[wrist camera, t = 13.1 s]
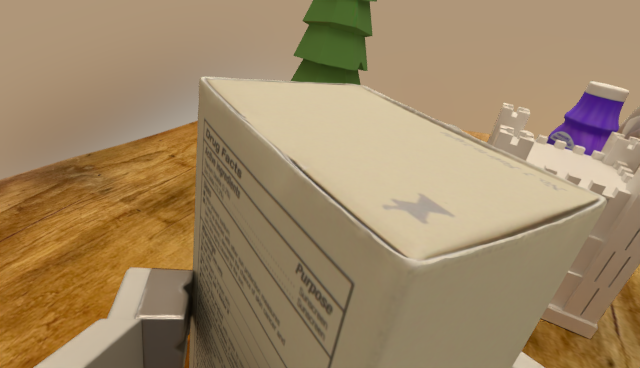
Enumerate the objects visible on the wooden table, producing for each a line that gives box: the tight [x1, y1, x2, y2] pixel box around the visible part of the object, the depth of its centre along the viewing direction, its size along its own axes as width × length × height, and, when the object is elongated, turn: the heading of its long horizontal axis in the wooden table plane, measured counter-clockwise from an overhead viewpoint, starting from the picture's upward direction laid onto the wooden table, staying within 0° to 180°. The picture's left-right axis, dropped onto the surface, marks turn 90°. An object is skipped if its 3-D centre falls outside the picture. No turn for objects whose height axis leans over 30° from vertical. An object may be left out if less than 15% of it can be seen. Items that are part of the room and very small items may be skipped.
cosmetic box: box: [189, 77, 607, 368], centre depth 9 cm, size 6×4×12 cm
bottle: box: [547, 82, 629, 156], centre depth 48 cm, size 7×6×17 cm
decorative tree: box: [291, 0, 377, 85], centre depth 38 cm, size 10×9×30 cm
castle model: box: [487, 103, 640, 339], centre depth 36 cm, size 13×15×14 cm
